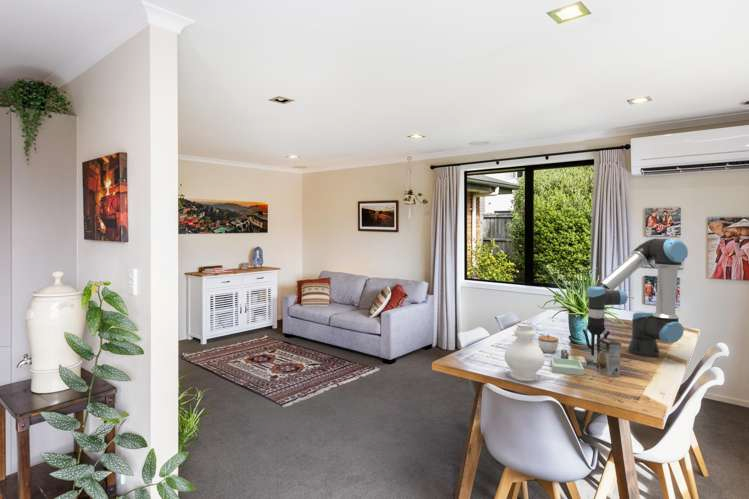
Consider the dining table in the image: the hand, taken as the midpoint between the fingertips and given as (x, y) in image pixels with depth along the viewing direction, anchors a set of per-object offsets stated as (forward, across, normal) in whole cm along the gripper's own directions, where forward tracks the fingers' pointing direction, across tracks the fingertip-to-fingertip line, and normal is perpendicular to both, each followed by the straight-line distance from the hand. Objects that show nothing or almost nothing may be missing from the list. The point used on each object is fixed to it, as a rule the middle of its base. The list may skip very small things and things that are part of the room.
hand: (595, 361), depth 226 cm
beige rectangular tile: (+1, +9, +1) cm, 9 cm away
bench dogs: (+1, +15, 0) cm, 15 cm away
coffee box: (+1, -4, +14) cm, 15 cm away
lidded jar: (+1, +22, -16) cm, 27 cm away
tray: (+1, +15, +14) cm, 21 cm away
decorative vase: (+1, +35, +33) cm, 48 cm away
